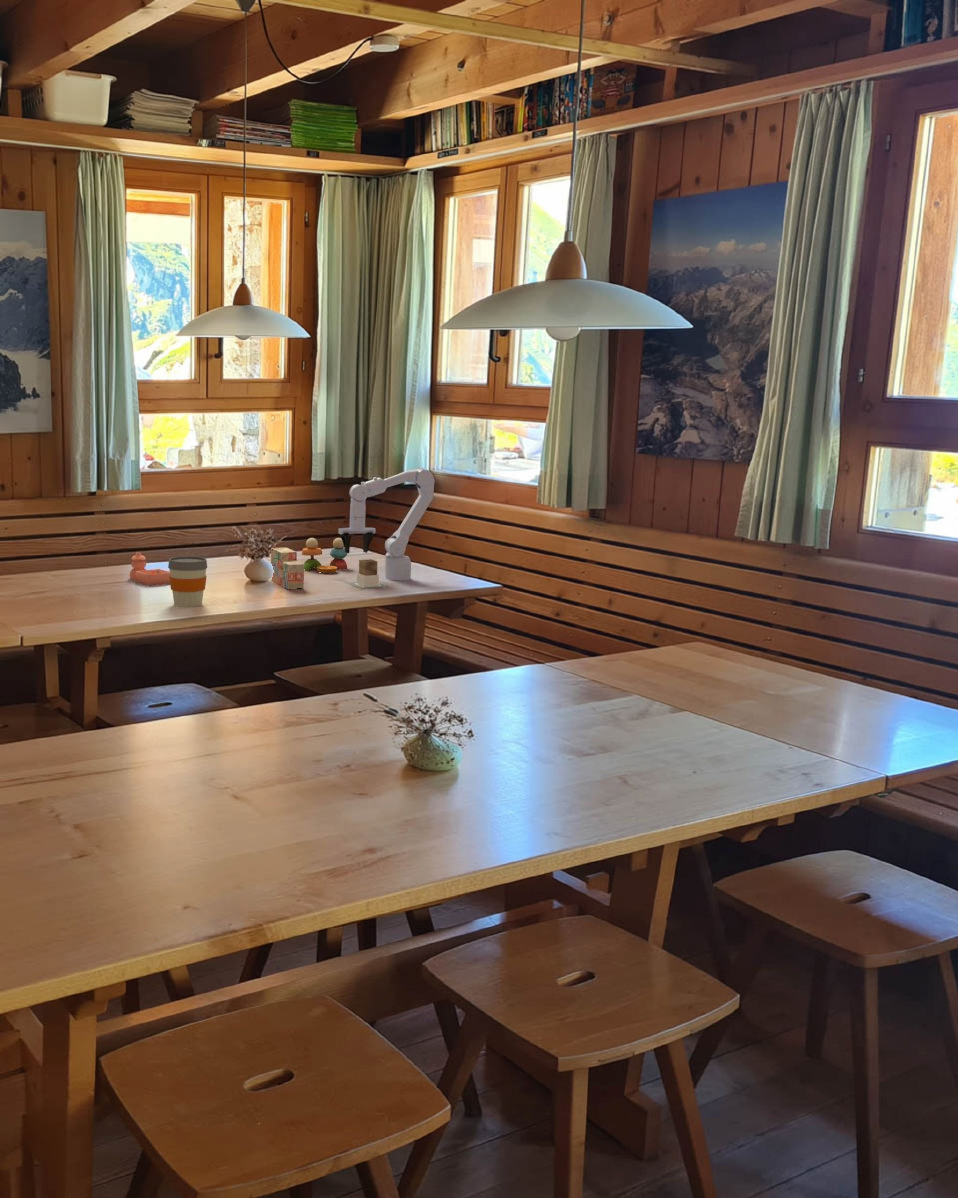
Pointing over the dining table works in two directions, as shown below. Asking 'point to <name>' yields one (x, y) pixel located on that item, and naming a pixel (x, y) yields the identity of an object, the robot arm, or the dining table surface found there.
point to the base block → (367, 580)
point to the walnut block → (368, 567)
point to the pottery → (147, 573)
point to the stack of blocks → (287, 568)
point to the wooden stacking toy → (312, 550)
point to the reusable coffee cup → (187, 580)
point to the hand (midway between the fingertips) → (356, 552)
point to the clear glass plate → (367, 586)
